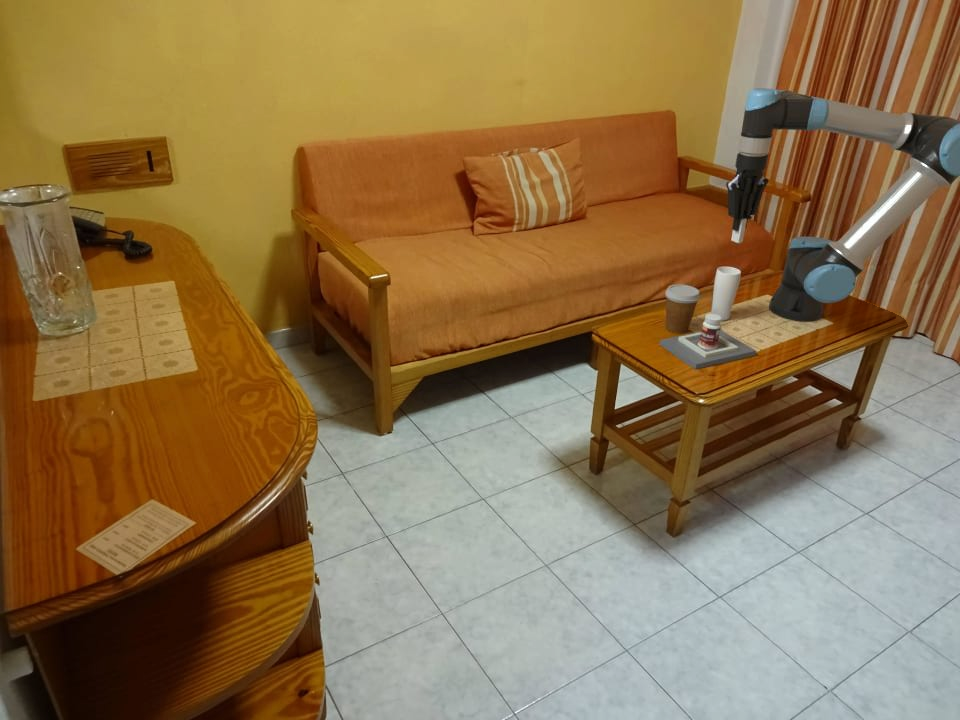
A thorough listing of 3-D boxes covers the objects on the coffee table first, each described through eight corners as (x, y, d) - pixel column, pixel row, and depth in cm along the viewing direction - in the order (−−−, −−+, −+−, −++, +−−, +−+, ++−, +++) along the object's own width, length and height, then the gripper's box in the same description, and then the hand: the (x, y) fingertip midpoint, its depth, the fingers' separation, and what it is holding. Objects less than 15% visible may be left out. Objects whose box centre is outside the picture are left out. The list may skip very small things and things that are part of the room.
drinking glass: (734, 322, 200) (744, 274, 193) (711, 322, 200) (720, 274, 193) (727, 313, 206) (737, 266, 199) (705, 312, 206) (714, 266, 199)
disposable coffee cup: (669, 319, 202) (675, 281, 196) (699, 328, 196) (706, 289, 191) (653, 329, 195) (659, 290, 189) (684, 339, 190) (692, 299, 184)
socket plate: (716, 332, 194) (718, 325, 193) (755, 355, 182) (757, 347, 180) (659, 344, 186) (660, 336, 185) (695, 369, 174) (697, 360, 173)
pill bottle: (695, 345, 183) (701, 316, 179) (703, 339, 186) (709, 311, 182) (712, 350, 180) (718, 322, 176) (720, 344, 183) (726, 316, 179)
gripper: (760, 148, 180) (744, 234, 192) (723, 152, 176) (708, 240, 187) (782, 153, 175) (764, 242, 186) (744, 158, 170) (728, 248, 181)
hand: (736, 241), depth 186 cm, fingers closed
